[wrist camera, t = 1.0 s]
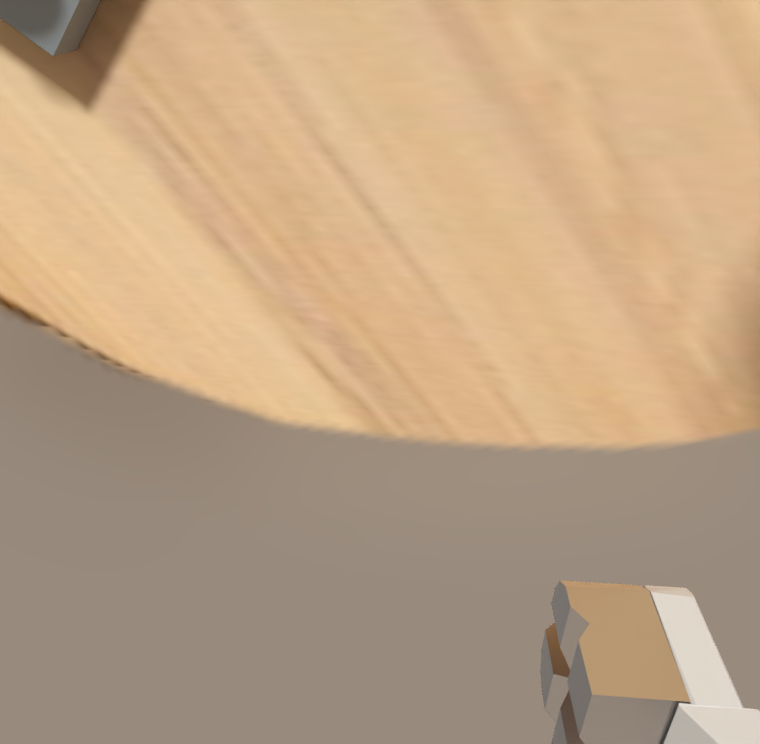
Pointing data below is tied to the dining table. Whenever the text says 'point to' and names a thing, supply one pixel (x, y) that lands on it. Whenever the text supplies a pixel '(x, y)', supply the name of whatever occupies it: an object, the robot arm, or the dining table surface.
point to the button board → (50, 21)
